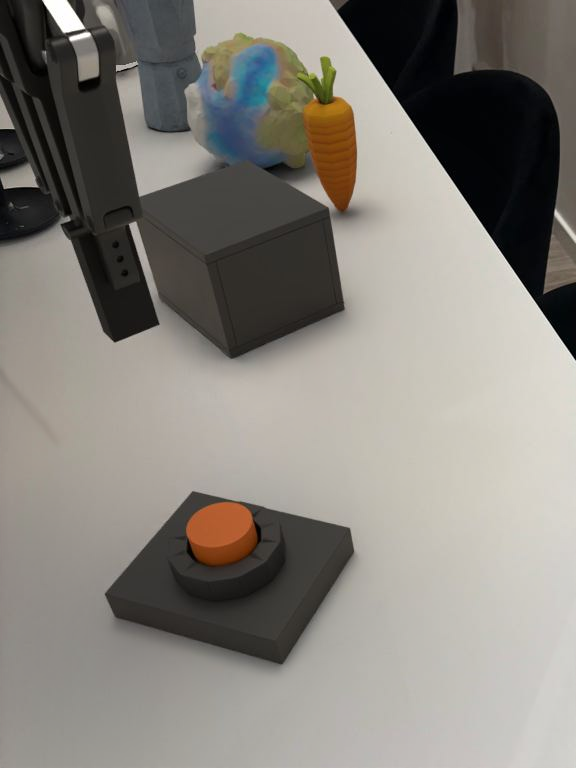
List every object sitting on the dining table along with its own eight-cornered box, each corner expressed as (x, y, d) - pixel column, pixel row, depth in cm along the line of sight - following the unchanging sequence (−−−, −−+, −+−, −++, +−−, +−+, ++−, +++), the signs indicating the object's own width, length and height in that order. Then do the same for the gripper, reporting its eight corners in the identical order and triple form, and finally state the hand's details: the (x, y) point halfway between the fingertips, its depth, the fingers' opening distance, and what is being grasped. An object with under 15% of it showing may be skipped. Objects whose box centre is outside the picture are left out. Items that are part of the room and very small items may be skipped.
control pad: (114, 617, 61) (94, 573, 58) (200, 513, 67) (185, 470, 65) (282, 664, 57) (269, 621, 55) (354, 551, 64) (346, 507, 61)
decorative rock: (157, 26, 99) (292, 39, 96) (233, 29, 112) (353, 41, 109) (166, 169, 105) (293, 185, 102) (237, 156, 119) (350, 170, 116)
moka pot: (194, 143, 116) (147, -44, 102) (107, 121, 122) (52, -59, 108) (248, 116, 121) (211, -65, 108) (163, 96, 128) (118, -78, 114)
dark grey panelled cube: (159, 298, 89) (129, 199, 83) (267, 255, 94) (247, 159, 88) (231, 358, 82) (204, 255, 75) (345, 308, 87) (329, 207, 80)
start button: (180, 559, 59) (172, 538, 58) (214, 516, 62) (208, 496, 61) (236, 573, 58) (230, 553, 57) (269, 529, 61) (264, 509, 60)
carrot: (340, 227, 98) (317, 73, 88) (309, 213, 101) (282, 63, 90) (376, 209, 101) (357, 58, 90) (344, 197, 103) (322, 48, 93)
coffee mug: (74, 56, 141) (51, -20, 135) (143, 46, 143) (124, -29, 137) (75, 86, 132) (50, 6, 125) (149, 75, 134) (128, -4, 127)
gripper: (120, -188, 36) (248, 351, 52) (-4, -217, 43) (142, 262, 59) (-90, -158, 32) (118, 408, 49) (-185, -194, 40) (23, 307, 56)
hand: (131, 327), depth 54 cm, fingers closed
